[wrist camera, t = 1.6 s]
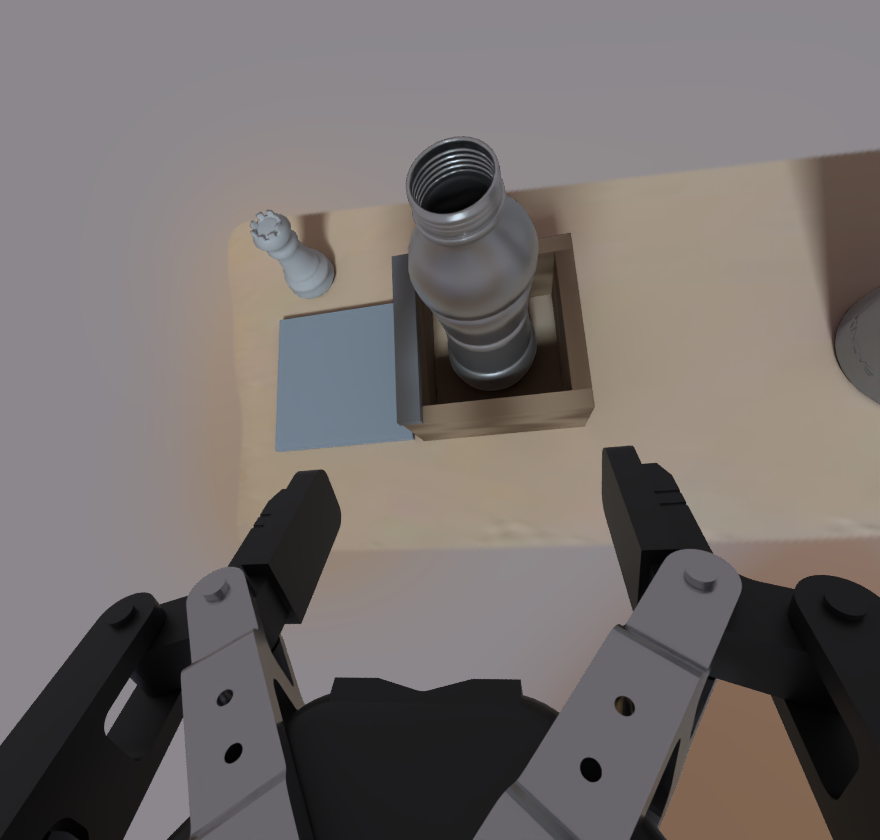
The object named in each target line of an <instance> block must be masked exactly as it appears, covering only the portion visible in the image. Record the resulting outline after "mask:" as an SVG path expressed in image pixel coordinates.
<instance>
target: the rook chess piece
mask: <svg viewBox="0 0 880 840" xmlns="http://www.w3.org/2000/svg"><path fill="white" fill-rule="evenodd" d="M266 214H267V215H263V213H262V212H260V213H258V214H257V215H256V216H257V217H258V218H259V220H258V221H257V223H256V222H255V221H251V224H250V227H251V228H252V229H253V230H252V231H250V232H251V234H252V236H253V241H254V243H255V245H256V247H257V248H259V249H261V250H263V251H267V252H268V254H269V256H271V257H272V258H274V259H277V260H278V261H279V263H280V264H281V266H282V267H283V271H284V275H285V280H286V282H287V284H288V286H289V287H290V288H291V289H292V290H293V292H294V293H295V294H296V295H298V296H299V297H301V298H307V299H310V298H314V297H318V296H321V295H322V294H323V293H325V292H326V291H327V290H328V289H329V287H330V286H331V284H332V281H333V278H334V266H333V265H332V263H331V261H330V260H329V259H327V258H326V256H325V255H324V254H322V253H321V252H319V251H318V250H316V249H311V248H308V247H306V246H305V245H303V244H302V243H301V242H300V241H299V240H298V236H297V235H296V233H295V232H294V231H293V230H291V225H290V222H289V220H288V219H287V218H286V217H285V216H283V215H281V214H277V213H276V214H275V213H274V212H273V211H272V210H267V211H266Z"/></svg>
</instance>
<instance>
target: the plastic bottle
mask: <svg viewBox="0 0 880 840" xmlns="http://www.w3.org/2000/svg"><path fill="white" fill-rule="evenodd" d="M406 192H407V197H408V201H409V203H410V205H411V208H412V214H413V218H414V221H415V224H416V227H415V230H414V232H413V234H412V237H411V240H410V244H409V254H408V271H409V275H410V280H411V282H412V284H413V286H414V289H415V291H416V292H417V293H418V295H419V297H420V298H421V299H422V301H423V302H424V303H425V304H426V306H427V307H428V308H429V309H430V310H431V311H432V312H433V313H434V314H435V316H436V317H437V318H438V319H439V321H440V322H441V324H442V326H443V328H444V329H445V331H446V333H447V337H448V353H449V358H450V363H451V365H452V367H453V369H454V371H455V373H456V374H457V375H458V376H459V377H460V378H461V379H462V380H463V381H465V382H466V383H467V384H469V385H470V386H472V387H474V388H476V389H480V390H484V391H497V390H502V389H505V388H508V387H510V386H512V385H514V384H515V383H517V382H518V381H519V380H521V379H522V377H523V376H524V375H525V374H526V373H527V371H528V370H529V368H530V366H531V365H532V363H533V360H534V358H535V355H536V350H537V337H536V334H535V331H534V327H533V324H532V322H531V320H530V318H529V314H528V299H529V292H530V289H531V285H532V281H533V278H534V274H535V271H536V265H537V258H538V251H539V245H538V236H537V233H536V230H535V227H534V225H533V223H532V221H531V219H530V217H529V216H528V214H527V212H526V211H525V209H524V208H523V207H522V206H521V205H520V204H519V203H518V202H517V201H516V200H514V199H513V198H511V197H510V196H508V195H506V193H505V187H504V183H503V180H502V178H501V173H500V166H499V163H498V159H497V157H496V155H495V153H494V152H493V150H492V149H491V148H490V147H489V146H488V145H487V144H486V143H484V142H482V141H481V140H478V139H475V138H472V137H464V136H463V137H452V138H448V139H444V140H441V141H439V142H437V143H435V144H433V145H431V146H430V147H428V148H427V149H426V150H424V151H423V152H422V153H421V154H420V155H419V156H418V157H417V158H416V159H415V161H414V162H413V164H412V165H411V167H410V169H409V172H408V174H407V179H406Z"/></svg>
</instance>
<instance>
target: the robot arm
mask: <svg viewBox="0 0 880 840" xmlns="http://www.w3.org/2000/svg"><path fill="white" fill-rule="evenodd" d="M835 347H836V354H837V359H838V361H839V363H840V366H841V368H842V370H843V372H844V373H845V375H846V376H847V378H848V379H849V380H850V382H851V383H852V384H853V385H854V386H855V387H856V388H857V389H858V390H859V391H861V392H862V393H863V394H864V395H866V396H867V397H869V398H870V399H872V400H873V401H875V402H877V403H879V404H880V286H879V287H878V288H876V289H875V290H874V291H872V292H871V293H869V294H868V295H866V296H865V297H863V298H862V299H860V300H859V301H858V302H857V303H856V304H854V305H853V306H852V307H851V308H850V309H849V310H848V311H847V312H846V314H845V315H844V316H843V318H842V319H841V321H840V324H839V326H838V329H837V332H836V340H835ZM602 501H603V508H604V513H605V517H606V520H607V524H608V527H609V530H610V534H611V537H612V541H613V544H614V548H615V551H616V554H617V558H618V561H619V565H620V568H621V571H622V575H623V578H624V582H625V585H626V589H627V592H628V596H629V599H630V603H631V606H632V609H633V613H632V615H631V617H630V618H629V620H628V621H627V623H626V624H625V625H624V626H622V625H620V624H618V625H616V626H615V627H614V628H613V629H612V630H611V632H610V633H609V635H608V636H607V638H606V639H605V641H604V642H603V644H602V646H601V647H600V649H599V651H598V652H597V654H596V655H595V657H594V659H593V660H592V662H591V663H590V665H589V667H588V668H587V670H586V671H585V673H584V675H583V676H582V678H581V680H580V681H579V683H578V684H577V686H576V688H575V689H574V691H573V692H572V694H571V696H570V697H569V699H568V700H567V702H566V704H565V705H564V707H563V709H562V710H561V712H560V713H559V712H557V711H556V710H554V709H553V708H551V707H549V706H548V705H546V704H545V703H542V702H540V701H538V700H536V699H533V698H530V697H527V696H523V693H522V686H521V680H512V679H510V680H507V679H505V680H504V679H503V680H502V679H471V680H467V681H463V682H459V683H455V684H452V685H448V686H444V687H440V688H436V689H432V690H429V691H418V690H414V689H411V688H408V687H405V686H402V685H399V684H395V683H392V682H389V681H386V680H383V679H380V678H335V680H334V683H333V686H332V690H331V693H330V694H328V695H325V696H322V697H320V698H317V699H315V700H313V701H312V702H309V703H308V704H306V705H305V704H304V702H303V699H302V697H301V694H300V691H299V688H298V685H297V681H296V678H295V675H294V672H293V669H292V665H291V662H290V659H289V656H288V653H287V649H286V646H285V643H284V640H283V638H282V636H281V634H280V633H281V631H282V629H283V626H284V624H301V623H302V620H303V618H304V615H305V613H306V610H307V608H308V605H309V603H310V600H311V598H312V595H313V593H314V590H315V588H316V586H317V583H318V580H319V578H320V575H321V573H322V571H323V568H324V566H325V563H326V561H327V558H328V555H329V553H330V551H331V548H332V546H333V543H334V541H335V538H336V536H337V533H338V531H339V528H340V524H341V510H340V507H339V504H338V501H337V499H336V496H335V494H334V491H333V488H332V486H331V483H330V481H329V478H328V476H327V474H326V472H325V471H324V470H309V471H299V472H297V473H296V474H295V475H294V477H293V479H292V480H291V482H290V484H289V485H288V487H287V489H282V490H281V491H280V492H279V493H277V494H276V495H275V496H274V497H273V498H272V499H271V500H270V501H269V502H268V503H267V505H266V506H265V508H264V509H263V511H262V513H261V514H260V517H258V519H257V521H256V522H255V524H254V525H253V526H254V528H252V529H251V530H250V532H249V533H248V535H247V537H246V538H245V540H244V541H243V543H242V545H241V546H240V548H239V549H238V551H237V553H236V554H235V556H234V558H233V559H232V561H231V562H230V564H229V565H228V567H225V568H221V569H218V570H216V571H214V572H212V573H210V574H208V575H207V576H205V577H204V578H203V579H201V580H200V581H199V582H198V583H197V584H196V585H195V586H194V588H193V589H192V590H191V592H190V593H189V595H188V596H186V597H182V598H179V599H176V600H173V601H170V602H166V603H163V604H159V603H158V602H157V601H156V599H155V598H154V597H153V596H152V595H151V594H149V593H136V594H133V595H130V596H128V597H125V598H123V599H121V600H120V601H118V602H117V603H115V604H114V605H112V606H111V607H110V608H108V609H107V610H106V611H105V612H104V613H103V614H102V615H101V616H100V617H99V619H98V620H97V621H96V623H95V624H94V625H93V626H92V628H91V629H90V630H89V632H88V633H87V634H86V635H85V637H84V638H83V639H82V641H81V642H80V643H79V645H78V646H77V647H76V648H75V650H74V651H73V652H72V654H71V655H70V656H69V658H68V659H67V660H66V661H65V663H64V664H63V665H62V667H61V668H60V669H59V670H58V672H57V673H56V674H55V676H54V677H53V678H52V679H51V681H50V682H49V683H48V685H47V686H46V687H45V689H44V690H43V691H42V692H41V694H40V695H39V696H38V698H37V699H36V700H35V701H34V703H33V704H32V705H31V707H30V708H29V710H28V711H27V712H26V713H25V714H24V716H23V717H22V718H21V720H20V721H19V722H18V723H17V725H16V726H15V727H14V729H13V730H12V731H11V733H10V734H9V735H8V736H7V738H6V739H5V740H4V742H3V743H2V744H1V746H0V840H123V839H124V837H125V834H126V832H127V830H128V828H129V826H130V824H131V822H132V820H133V818H134V816H135V814H136V812H137V810H138V808H139V806H140V804H141V802H142V800H143V798H144V796H145V794H146V792H147V790H148V788H149V786H150V783H151V781H152V779H153V777H154V775H155V773H156V771H157V769H158V767H159V765H160V763H161V761H162V759H163V757H164V755H165V753H166V751H167V749H168V746H169V745H170V743H171V741H172V739H173V737H174V735H175V732H176V731H177V728H178V727H179V724H180V722H181V720H182V718H184V732H185V747H186V762H187V776H188V791H189V806H190V817H189V818H188V819H187V820H186V821H185V822H184V823H183V824H182V825H181V826H180V827H179V828H178V829H177V830H176V831H175V832H174V833H173V834H172V835H171V836H170V837H169V838H168V839H167V840H666V838H665V837H664V836H663V835H662V833H661V832H660V831H659V828H660V825H661V822H662V820H663V818H664V816H665V813H666V811H667V808H668V805H669V803H670V801H671V798H672V795H673V793H674V790H675V788H676V785H677V783H678V780H679V777H680V775H681V772H682V769H683V766H684V763H685V759H686V756H687V754H688V751H689V748H690V746H691V743H692V741H693V738H694V736H695V733H696V731H697V728H698V726H699V723H700V721H701V719H702V716H703V714H704V711H705V709H706V706H707V704H708V701H709V699H710V696H711V694H712V692H713V689H714V687H715V684H716V682H717V679H720V680H724V681H727V682H730V683H733V684H737V685H741V686H743V687H747V688H750V689H753V690H756V691H760V692H763V693H766V694H770V695H771V697H772V698H773V701H774V704H775V706H776V708H777V710H778V713H779V715H780V717H781V719H782V722H783V724H784V726H785V729H786V731H787V734H788V736H789V738H790V741H791V743H792V745H793V748H794V750H795V752H796V755H797V757H798V759H799V761H800V764H801V766H802V768H803V771H804V773H805V775H806V778H807V780H808V782H809V785H810V787H811V789H812V792H813V794H814V796H815V799H816V801H817V803H818V806H819V808H820V810H821V813H822V815H823V817H824V819H825V822H826V824H827V827H828V829H829V831H830V834H831V836H832V838H833V840H880V597H878V596H877V595H876V594H874V593H873V592H871V591H870V590H868V589H866V588H865V587H863V586H861V585H859V584H857V583H854V582H852V581H849V580H847V579H843V578H840V577H835V576H829V575H814V576H809V577H806V578H804V579H802V580H801V581H799V583H798V584H797V585H796V587H795V589H791V588H787V587H782V586H777V585H773V584H768V583H763V582H759V581H755V580H752V579H749V578H746V577H744V576H741V575H739V574H738V573H737V572H736V570H735V569H734V568H733V567H732V566H731V565H730V564H729V563H728V562H726V561H725V560H724V559H722V558H720V557H718V556H716V555H714V554H713V552H712V551H711V549H710V547H709V545H708V543H707V541H706V539H705V537H704V535H703V534H702V532H701V530H700V528H699V526H698V524H697V522H696V520H695V518H694V516H693V514H692V513H691V511H690V509H689V507H688V505H686V501H685V499H684V497H683V495H682V493H680V490H679V488H678V486H677V484H676V482H675V480H674V478H673V476H672V475H671V474H670V473H669V472H667V471H666V470H665V469H664V468H662V467H661V466H660V465H658V464H657V463H649V464H641V461H640V459H639V457H638V455H637V453H636V450H635V448H634V447H633V446H621V447H608V448H603V451H602ZM129 678H131V679H132V680H133V681H134V682H135V683H136V684H137V686H136V688H135V690H134V691H133V693H132V695H131V696H130V698H129V700H128V701H127V703H126V704H125V706H124V708H123V709H122V711H121V713H120V714H119V716H118V718H117V719H116V721H115V723H114V724H113V726H112V728H111V729H110V731H109V733H108V734H107V736H106V735H105V732H104V722H105V718H106V716H107V713H108V711H109V710H110V708H111V706H112V705H113V703H114V702H115V700H116V698H117V697H118V695H119V694H120V692H121V690H122V689H123V687H124V686H125V684H126V682H127V681H128V679H129Z"/></svg>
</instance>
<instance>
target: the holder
mask: <svg viewBox="0 0 880 840" xmlns="http://www.w3.org/2000/svg"><path fill="white" fill-rule="evenodd" d="M538 245H539V251H538V258H537V265H536V271H535V274H534V278H533V281H532V285H531V289H530V292H529V297H534V296H540V295H547V294H552V300H553V308H554V317H555V325H556V333H557V341H558V349H559V358H560V366H561V374H562V382H563V390H564V391H561V392H552V393H542V394H533V395H524V396H514V397H505V398H495V399H486V400H476V401H467V402H458V403H448V404H439V405H437V394H436V375H435V356H434V337H433V318H432V311H431V310H430V309H429V308H428V307H427V306H426V304H425V303H424V302H423V301H422V299H421V298H420V297H419V295H418V293H417V292H416V291H415V289H414V286H413V284H412V282H411V280H410V275H409V271H408V254H404V255H398V256H392V280H393V313H394V346H395V379H396V412H397V424H399V425H400V426H405V427H406V428H407V429H409V430H410V431H411V432H413V433H414V434H415V435H417V436H418V437H420V438H421V439H422V440H424V441H429V440H440V439H451V438H462V437H473V436H484V435H495V434H506V433H517V432H528V431H539V430H550V429H561V428H572V427H583V426H585V424H586V423H587V421H588V419H589V417H590V415H591V413H592V411H593V409H594V407H595V405H594V398H593V391H592V383H591V376H590V369H589V362H588V354H587V347H586V340H585V333H584V325H583V318H582V311H581V304H580V296H579V289H578V282H577V275H576V267H575V260H574V253H573V246H572V238H571V233H567V234H561V235H555V236H549V237H543V238H538Z"/></svg>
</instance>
